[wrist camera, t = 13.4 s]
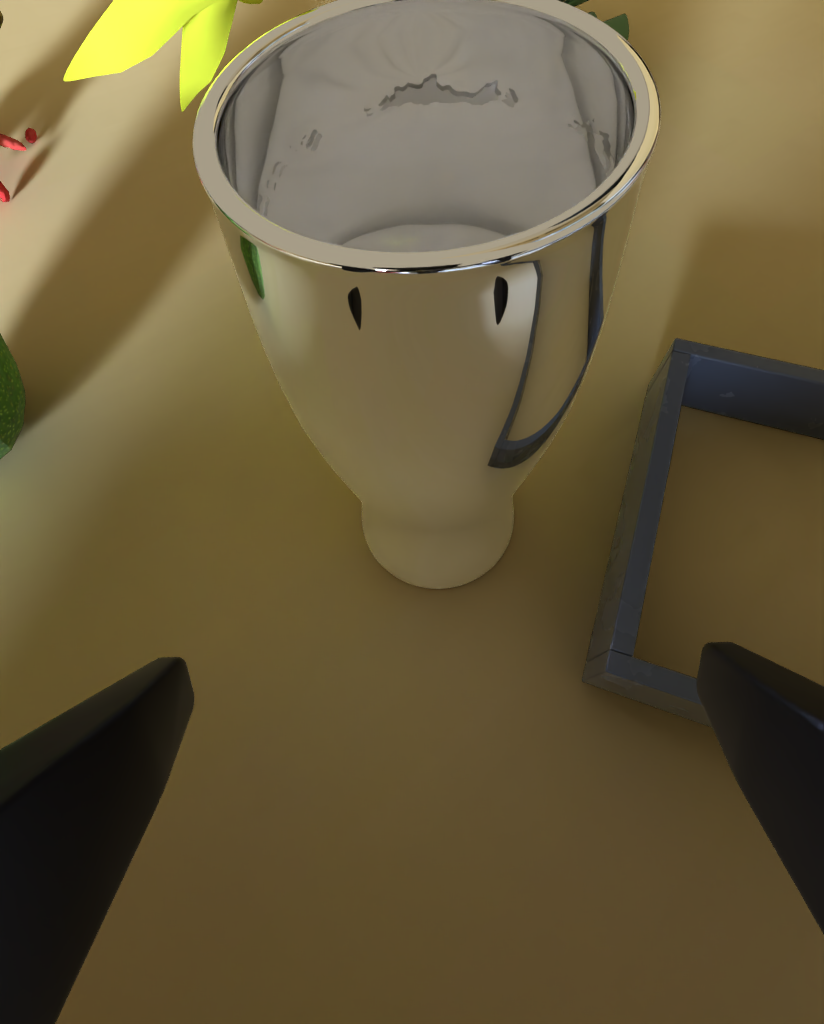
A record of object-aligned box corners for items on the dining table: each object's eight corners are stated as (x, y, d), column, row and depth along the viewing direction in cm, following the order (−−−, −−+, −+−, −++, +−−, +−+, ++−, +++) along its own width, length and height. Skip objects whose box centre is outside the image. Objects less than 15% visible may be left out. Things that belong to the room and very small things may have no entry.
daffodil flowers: (737, 89, 32) (486, 361, 13) (527, 171, 42) (205, 399, 23) (722, -354, 23) (-116, -1459, 4) (458, -121, 33) (-166, -147, 14)
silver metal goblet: (487, 630, 19) (594, 352, 5) (322, 560, 20) (71, 201, 7) (547, 475, 21) (728, 6, 8) (395, 423, 23) (320, -49, 9)
